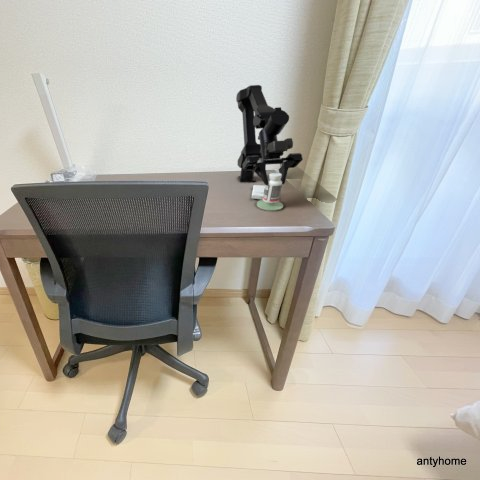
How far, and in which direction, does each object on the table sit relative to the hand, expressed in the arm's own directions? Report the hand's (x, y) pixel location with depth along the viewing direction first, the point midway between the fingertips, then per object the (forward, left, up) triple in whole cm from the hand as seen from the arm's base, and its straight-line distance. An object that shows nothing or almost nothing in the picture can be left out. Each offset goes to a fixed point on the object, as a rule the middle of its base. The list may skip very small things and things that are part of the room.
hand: (275, 184), depth 88 cm
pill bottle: (-1, 0, -7) cm, 7 cm away
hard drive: (-11, 0, -8) cm, 14 cm away
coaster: (-1, 0, -8) cm, 8 cm away
